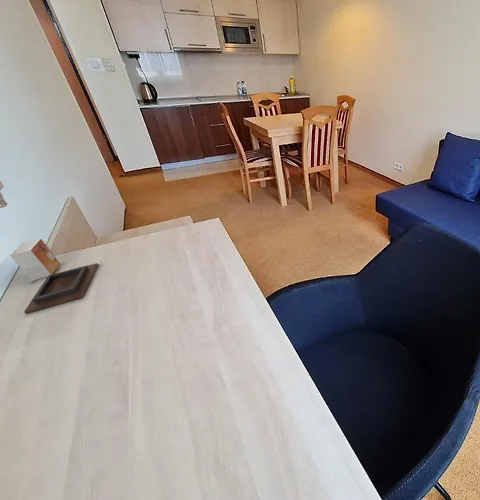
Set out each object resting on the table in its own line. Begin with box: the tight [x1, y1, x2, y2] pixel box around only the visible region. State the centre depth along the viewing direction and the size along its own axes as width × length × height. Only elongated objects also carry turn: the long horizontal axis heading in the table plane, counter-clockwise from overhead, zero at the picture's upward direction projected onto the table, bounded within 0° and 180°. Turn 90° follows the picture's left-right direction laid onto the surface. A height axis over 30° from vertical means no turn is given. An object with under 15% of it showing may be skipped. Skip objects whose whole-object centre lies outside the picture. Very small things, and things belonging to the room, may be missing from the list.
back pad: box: [23, 262, 100, 315], centre depth 94 cm, size 14×18×2 cm
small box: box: [9, 238, 61, 281], centre depth 100 cm, size 8×6×10 cm
